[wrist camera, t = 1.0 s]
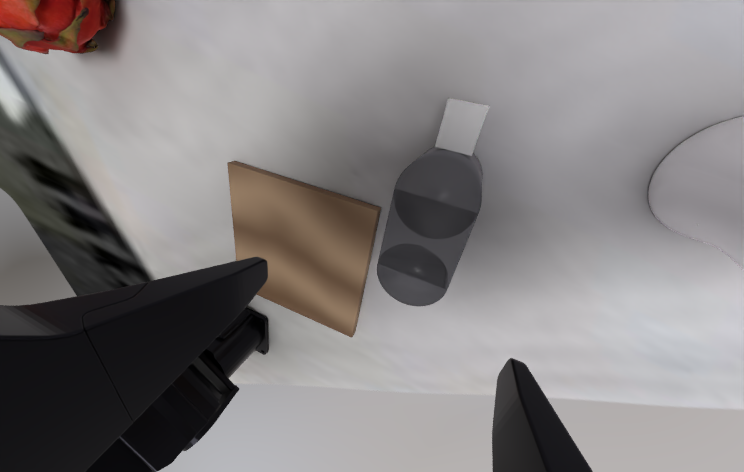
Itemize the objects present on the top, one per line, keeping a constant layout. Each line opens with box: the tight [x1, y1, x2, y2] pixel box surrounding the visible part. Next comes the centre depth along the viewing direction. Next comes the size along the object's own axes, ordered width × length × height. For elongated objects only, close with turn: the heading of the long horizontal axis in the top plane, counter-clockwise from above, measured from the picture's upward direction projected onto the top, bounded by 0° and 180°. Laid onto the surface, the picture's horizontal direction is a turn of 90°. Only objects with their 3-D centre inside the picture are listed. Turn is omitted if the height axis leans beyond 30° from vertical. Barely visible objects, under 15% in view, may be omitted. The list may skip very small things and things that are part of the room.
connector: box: [377, 98, 489, 306], centre depth 17 cm, size 12×4×5 cm, turn 169°
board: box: [228, 161, 381, 337], centre depth 25 cm, size 14×14×1 cm
